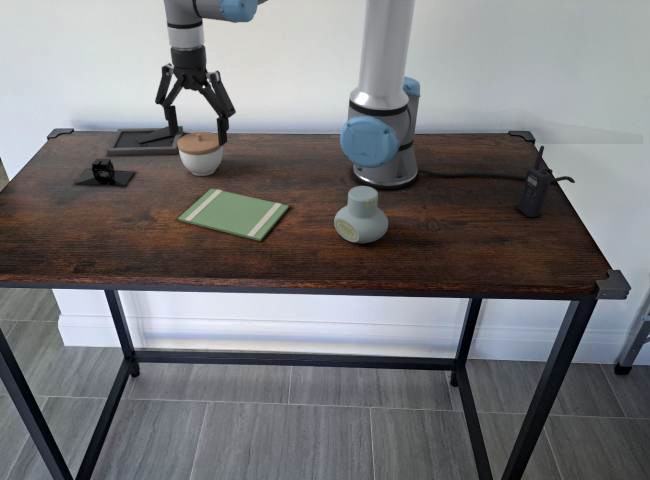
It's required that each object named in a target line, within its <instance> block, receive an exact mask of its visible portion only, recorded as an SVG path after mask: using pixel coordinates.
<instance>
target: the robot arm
mask: <svg viewBox="0 0 650 480" xmlns="http://www.w3.org/2000/svg"><path fill="white" fill-rule="evenodd" d="M268 1H269V0H163V5H164V10H165V17H166V18H165V19H166V29H167V37H168V42H169V43H168V44H169V46H170V59H171V63H170V62H168V63H167V64H164V65H162V66H161V78H160V81H159V85H158V89H157V92H156V96H155V98H154V99H155V100H154V102H155V105H159V106H161V107H162V109H163V114H164V119H165V121H167V124H168V125H167V126H169V132H170V136H173V135H175V134H176V133H178V132H179V129H178V126H179V124H178V123H179V121H178V115H177V109H176V105H175V104H174V101H176V98H177V97H178V95H179V94H180V93H181V91H182V90H183V89H184V90H185V91H186V90H190V91H192V92H193V91H194V92H198V93H199V94H200V95H202V96H203V97H204V98H205V100H206V101H207V103H208V104H209V106H210V107H211V108H212V110H213V111H214V112H215V114H216V115H217V116H218V117H217V118H216V128H217V129H216V130H217V135H218V140H219V146H222V147H223V146H224V145H225V144H226V143H227V142H228V132H227V131H229V129H230V121H229V118H231V117H233V116H234V115H235V114H236V113H237V111H236V109H235V106H234V104H233V102H232V100H231V98H230V96H229V94H228V92H227V89H226V87H225V86H224V83H223V80H222V77H221V72H220V70H215V71H208V69H207V50H206V46H205V45H204V44H205V31H204V21H203V19H206V20H214V21H221V22H222V21H223V22H229V23H234V24H238V23H250V22H251V21H252V20H253V19H254V17H255V15H256V14H257V10H258V6H260V5H262V4H264V3H266V2H268ZM415 3H416V0H365V8H364V11H365V12H364V20H363V30H362V31H363V33H362V41H361V51H360V52H361V53H360V61H359V63H360V64H359V71H358V73H359V74H358V84H357V86H356V87H355V88H354V89H353V90H351V91H350V93H349V100H348V110H347V119H346V122H345V123H344V124H343V126H342V128H341V131H340V135H339V143H340V147H341V150H342V152H343V154H344V155H345V156H346V157H347V158H348V159H349V161H351V162H352V163H353V166H352V175H353V178H354V179H355V180H356V181H357V182H358V183H360V184H362V185H363V186H368V187H371V188H373V189H378V190H398V189H402V188H406V187H407V186H410V185H412V184H413V183H414V182H415V181H416V180H417V177H418V173H419V174H424V175H425V174H426V175H431V176H436V177H449V178H451V177H492V178H493V177H494V178H495V177H497V178H507V179H508V178H510V179H519V180H524V181H525V178H526V175H520V174H514V173H503V172H485V171H483V172H482V171H481V172H480V171H471V172H470V171H466V172H465V171H464V172H463V171H462V172H439V171H433V170H428V169H423V168H418V164H417V160H416V155H415V150H414V140H415V132H416V126H417V117H418V111H419V103H420V98H421V96H422V95H421V84H420V82H419V81H418V80H416V78H413V77H409V76H405V73H406V66H407V60H408V52H409V45H410V40H411V39H410V38H411V33H412V27H413V19H414V11H415V5H416V4H415ZM173 75H174V77H175V78H176V81H175V82H174V84H173V85H172V88H171V90H170V91H169V89H170V86H171V85H170V84H171V82H172V79H173ZM168 91H169V93H168ZM561 181H568V182H570V183H571V184H575V183H576V181H575V179H574V178H573V177H572V176H568V175H564V176H559V177H555V178H551V182H550V184H551V183H557V182H561Z"/></svg>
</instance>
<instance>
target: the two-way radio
mask: <svg viewBox="0 0 650 480" xmlns="http://www.w3.org/2000/svg"><path fill="white" fill-rule="evenodd" d="M544 151H545V146H544V145H540V147H539V150H538V153H537V156H536V159H535V162H534V166H531V167H529V168H528V170H527V171H526V174H525V176H526V178H525V180H524V182H523V185H522V189H521V192H520V197H519V201H518V205H517V209H518V210H519V211H520V212H522V213H523V214H524V215H525V216H527V217H529V218H536V217H538V216H539V215H540V214H541V211H542V208H543V206H544V203H545V200H546V198H547V194H548V192H549V190H550V189H549V188H550V185H551V183H550V182H551V179H552V175H553V173H554V171H553V169H551V168H548V167H547V166H542V167H540V166H541V162H542V158H543V154H544Z"/></svg>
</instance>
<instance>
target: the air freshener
mask: <svg viewBox="0 0 650 480" xmlns="http://www.w3.org/2000/svg"><path fill="white" fill-rule="evenodd" d="M378 203H379V192H378V191H377V190H376V188H372V187H369V186H366V185H358V186H354V187H352V188H351V189H349V191H348V194H347V204H346V205H345V206H344V207H342V208H340V209H339V210H338V212H336V214H335V217H334V220H333V226H334V227H335V230H336V232H337V233H338V234H339V235H340V236H341V237H342V238H343V239H344V240H346V241H348V242H350V243H354V244H370V243H373V242H376V241H377V240H380V239H381V238H383V236H384V235H385V234H386V233H387V231H388V228H389V219H388V217H387V215H386V214H385V212H384V211H383V210H382V209H381V208H380V207H379V206H378V205H379V204H378Z"/></svg>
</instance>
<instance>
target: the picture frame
mask: <svg viewBox="0 0 650 480" xmlns="http://www.w3.org/2000/svg"><path fill="white" fill-rule="evenodd" d="M178 129H179V132H178V133H176V134H175V135H173V136H170V132H169V125H167V126H165V127H145V128H139V127H138V128H117V130H116V132H115V134H114V136H113V137H112V139H111V141H110V143H109V145H108V147H107V149H106V153H107V157H119V156H121V157H122V156H124V157H125V156H157V155H158V156H161V155H162V156H166V155H167V156H168V155H177V154H178V153H179V149H178V145H177V142H178V140H179V139H180V138H181V137H183V136H184V127H183V125H178Z"/></svg>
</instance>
